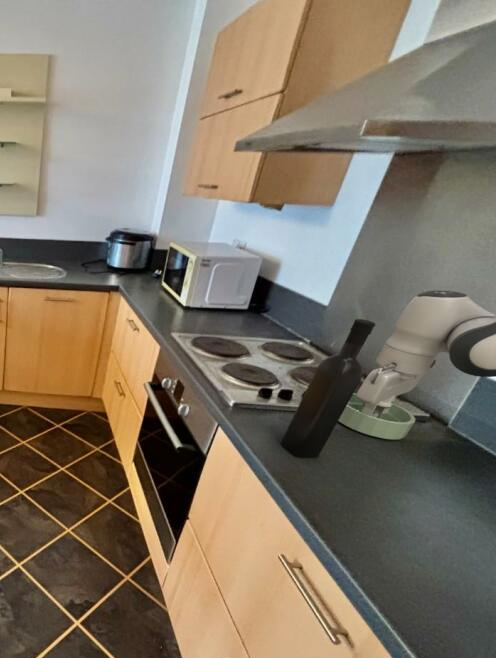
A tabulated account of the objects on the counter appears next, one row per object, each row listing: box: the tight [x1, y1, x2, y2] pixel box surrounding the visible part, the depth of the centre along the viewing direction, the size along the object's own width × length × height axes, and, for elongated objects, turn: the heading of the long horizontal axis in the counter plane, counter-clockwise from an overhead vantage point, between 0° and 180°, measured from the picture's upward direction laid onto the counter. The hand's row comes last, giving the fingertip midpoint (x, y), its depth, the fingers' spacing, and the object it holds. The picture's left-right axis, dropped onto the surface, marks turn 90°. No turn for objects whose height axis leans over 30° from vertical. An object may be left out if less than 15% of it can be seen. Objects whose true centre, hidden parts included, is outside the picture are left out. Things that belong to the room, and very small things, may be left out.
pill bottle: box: [359, 396, 396, 419], centre depth 101 cm, size 5×5×8 cm
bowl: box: [338, 392, 416, 441], centre depth 102 cm, size 15×15×5 cm
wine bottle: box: [280, 318, 376, 458], centre depth 84 cm, size 6×6×30 cm
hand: (373, 411), depth 102 cm, fingers closed on pill bottle, 5 cm apart
